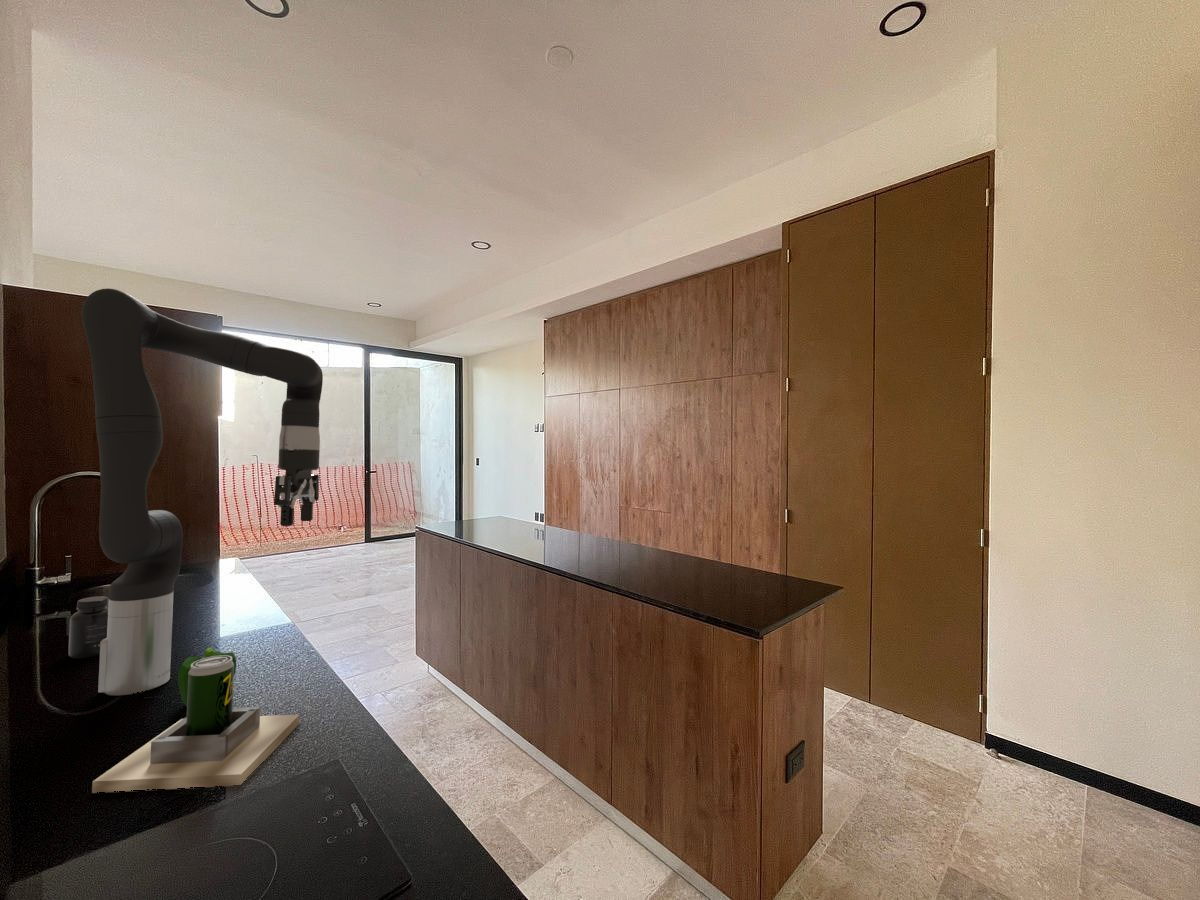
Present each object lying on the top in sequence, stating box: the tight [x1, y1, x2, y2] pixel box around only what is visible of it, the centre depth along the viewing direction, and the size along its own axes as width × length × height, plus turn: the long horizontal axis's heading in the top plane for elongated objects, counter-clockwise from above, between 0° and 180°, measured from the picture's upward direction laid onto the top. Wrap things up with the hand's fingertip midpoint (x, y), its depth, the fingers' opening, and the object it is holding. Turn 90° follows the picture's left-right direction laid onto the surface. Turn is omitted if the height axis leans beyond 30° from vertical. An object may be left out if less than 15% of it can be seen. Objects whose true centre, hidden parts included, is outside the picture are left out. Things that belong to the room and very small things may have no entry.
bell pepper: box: [177, 647, 237, 707], centre depth 89 cm, size 8×8×10 cm
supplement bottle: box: [68, 595, 109, 659], centre depth 111 cm, size 7×7×12 cm
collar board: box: [91, 706, 300, 794], centre depth 74 cm, size 18×16×4 cm
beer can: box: [186, 655, 235, 736], centre depth 74 cm, size 5×5×12 cm
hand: (297, 523), depth 107 cm, fingers open, 8 cm apart
